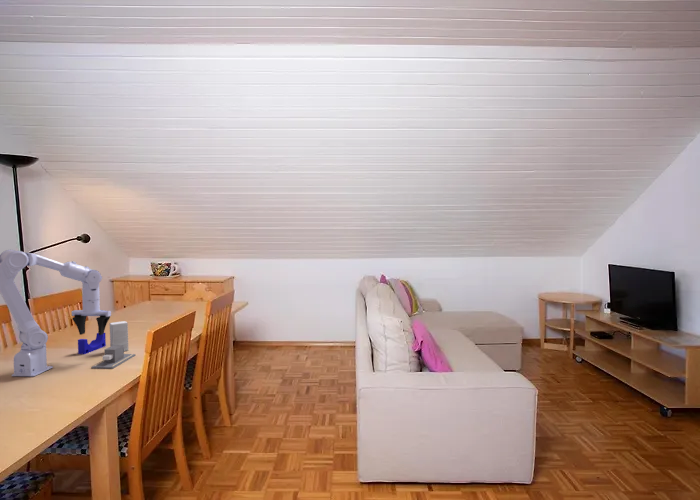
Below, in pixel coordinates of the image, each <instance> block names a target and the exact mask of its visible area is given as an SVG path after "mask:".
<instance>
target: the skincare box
mask: <svg viewBox="0 0 700 500" xmlns="http://www.w3.org/2000/svg"><path fill="white" fill-rule="evenodd" d="M128 323H129V322H127V321H125V320H123V321H116V322H110V323H109V340H110V341H109V344H110V346H109V347H111V346H113V345H124V352H126V351H129V326H128V325H129V324H128Z"/></svg>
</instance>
